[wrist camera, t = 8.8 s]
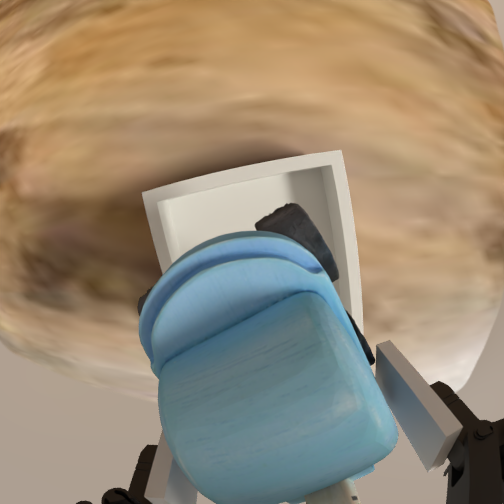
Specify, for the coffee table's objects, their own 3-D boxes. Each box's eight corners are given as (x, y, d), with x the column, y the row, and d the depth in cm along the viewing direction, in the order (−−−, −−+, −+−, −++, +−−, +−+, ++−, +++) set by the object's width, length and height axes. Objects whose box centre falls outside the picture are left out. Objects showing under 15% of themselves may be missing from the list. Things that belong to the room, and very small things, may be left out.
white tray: (162, 191, 24) (141, 192, 19) (321, 157, 24) (341, 149, 19) (219, 384, 29) (216, 417, 24) (346, 357, 29) (363, 386, 23)
